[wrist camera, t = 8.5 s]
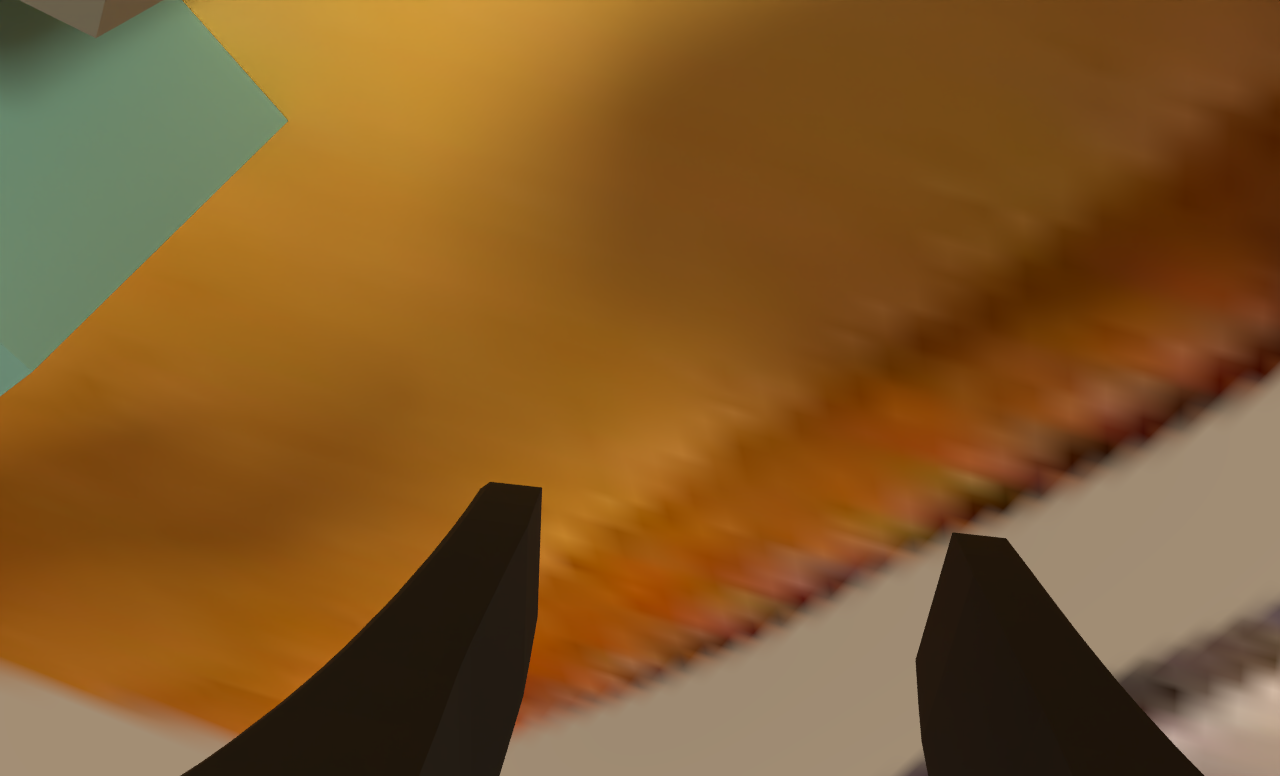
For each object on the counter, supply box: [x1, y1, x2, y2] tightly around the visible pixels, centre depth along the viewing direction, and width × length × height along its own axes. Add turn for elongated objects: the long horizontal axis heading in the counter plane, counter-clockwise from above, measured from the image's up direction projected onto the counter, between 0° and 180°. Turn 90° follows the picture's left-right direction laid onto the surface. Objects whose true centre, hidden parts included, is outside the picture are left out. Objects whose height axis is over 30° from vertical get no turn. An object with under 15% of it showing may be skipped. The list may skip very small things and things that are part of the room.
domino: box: [0, 0, 288, 396], centre depth 17 cm, size 2×5×9 cm, turn 36°
